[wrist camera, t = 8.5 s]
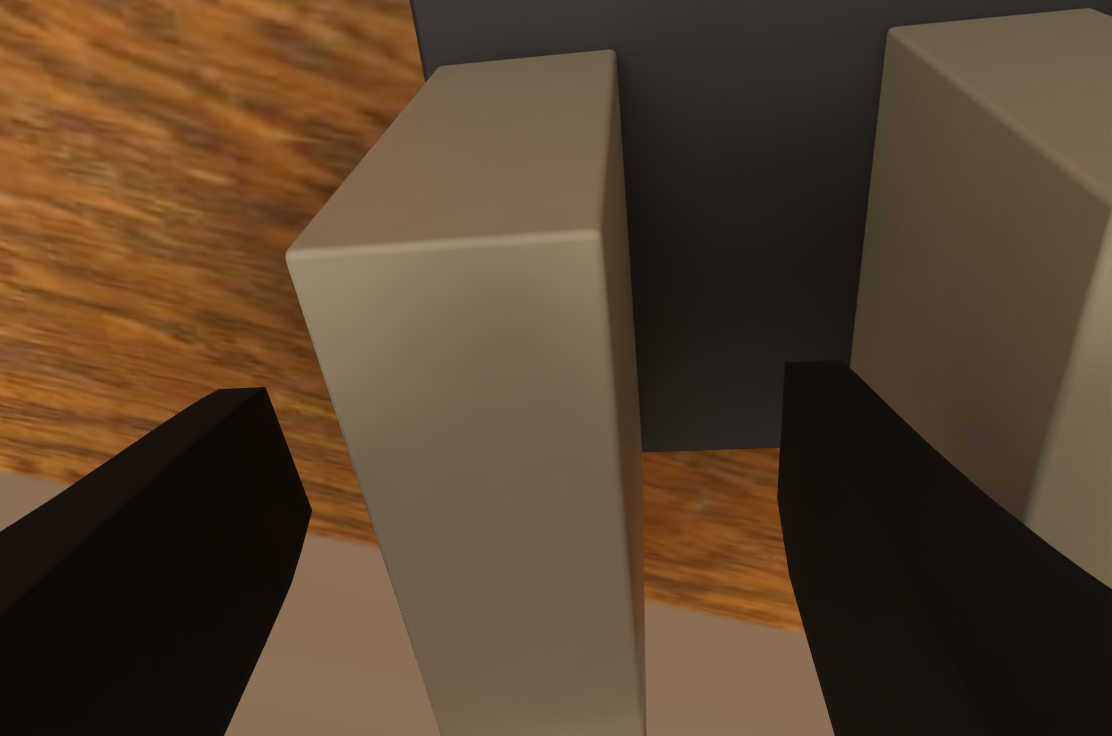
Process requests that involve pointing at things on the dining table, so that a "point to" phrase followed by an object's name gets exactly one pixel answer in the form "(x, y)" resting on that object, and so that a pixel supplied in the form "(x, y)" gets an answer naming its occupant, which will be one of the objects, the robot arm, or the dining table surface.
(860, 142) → the shelf board
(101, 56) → the dining table surface
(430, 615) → the taupe rectangular block
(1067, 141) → the beige upright block
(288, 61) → the dining table surface
